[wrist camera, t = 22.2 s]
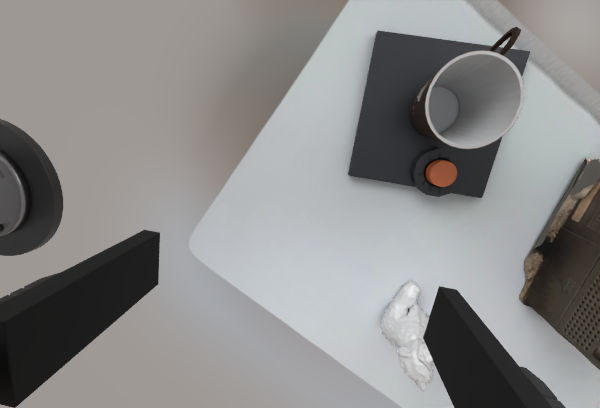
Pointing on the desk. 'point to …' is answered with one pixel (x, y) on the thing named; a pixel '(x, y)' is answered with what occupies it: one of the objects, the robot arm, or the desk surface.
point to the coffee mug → (471, 98)
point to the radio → (570, 265)
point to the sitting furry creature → (409, 334)
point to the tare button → (441, 173)
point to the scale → (396, 122)
